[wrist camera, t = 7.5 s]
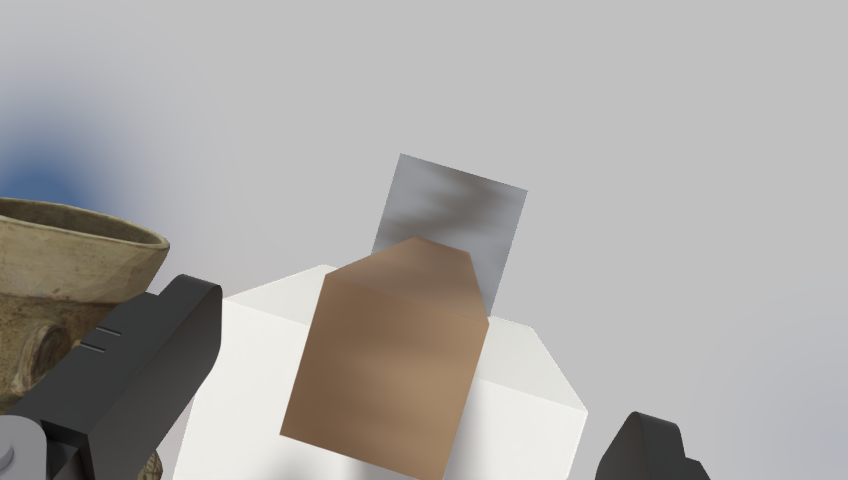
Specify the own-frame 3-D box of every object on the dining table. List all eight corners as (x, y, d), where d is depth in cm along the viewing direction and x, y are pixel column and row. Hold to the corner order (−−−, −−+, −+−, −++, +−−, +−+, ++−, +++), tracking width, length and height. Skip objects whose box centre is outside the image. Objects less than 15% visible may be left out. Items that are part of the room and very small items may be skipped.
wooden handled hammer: (174, 400, 11) (279, 21, 10) (381, 267, 38) (411, 165, 38) (549, 521, 10) (672, 133, 10) (483, 299, 38) (515, 195, 38)
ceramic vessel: (189, 585, 50) (285, 249, 48) (40, 865, 29) (200, 289, 27) (-36, 530, 49) (55, 183, 47) (-361, 780, 28) (-218, 171, 26)
